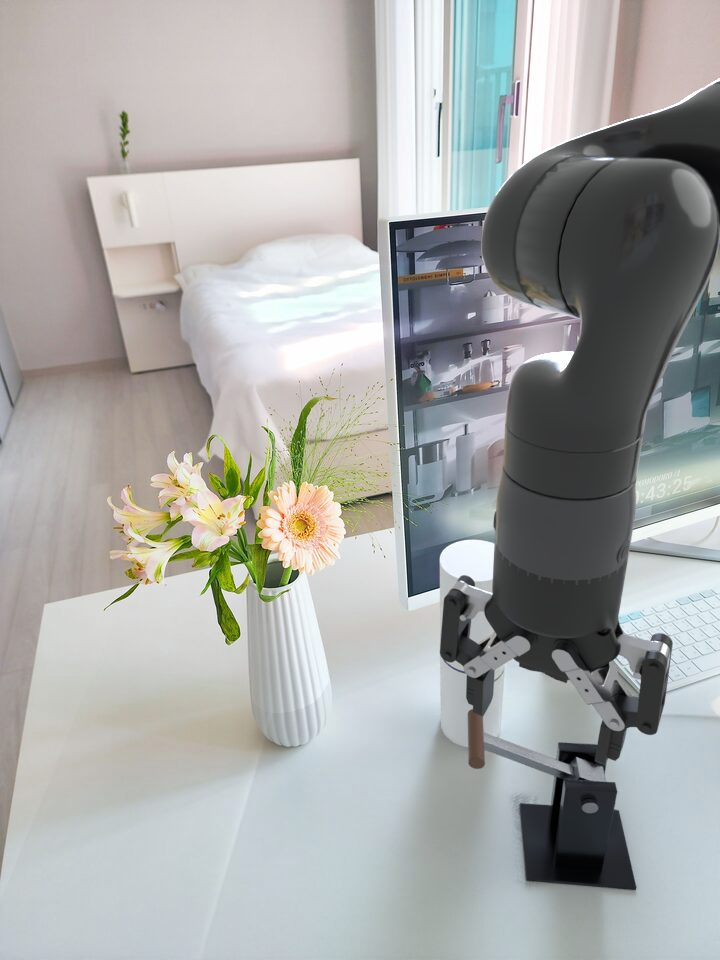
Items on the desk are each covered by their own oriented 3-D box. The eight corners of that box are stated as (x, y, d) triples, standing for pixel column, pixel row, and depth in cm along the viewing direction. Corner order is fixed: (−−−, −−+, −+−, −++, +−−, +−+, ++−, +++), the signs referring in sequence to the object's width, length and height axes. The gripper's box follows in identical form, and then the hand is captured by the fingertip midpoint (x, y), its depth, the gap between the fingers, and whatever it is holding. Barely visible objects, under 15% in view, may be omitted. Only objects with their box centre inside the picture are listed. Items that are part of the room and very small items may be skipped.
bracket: (525, 886, 65) (534, 801, 59) (519, 810, 72) (526, 727, 66) (634, 896, 64) (655, 810, 58) (617, 817, 71) (634, 733, 64)
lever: (463, 768, 60) (475, 753, 59) (462, 719, 65) (473, 703, 63) (596, 818, 61) (611, 803, 60) (586, 765, 66) (599, 751, 64)
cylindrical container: (436, 707, 85) (435, 542, 73) (493, 703, 85) (502, 537, 73) (445, 755, 79) (445, 584, 66) (506, 751, 79) (518, 578, 66)
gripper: (705, 534, 39) (659, 730, 47) (471, 481, 46) (466, 660, 53) (683, 611, 33) (635, 819, 41) (421, 538, 40) (424, 728, 48)
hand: (540, 729), depth 47 cm, fingers open, 8 cm apart
